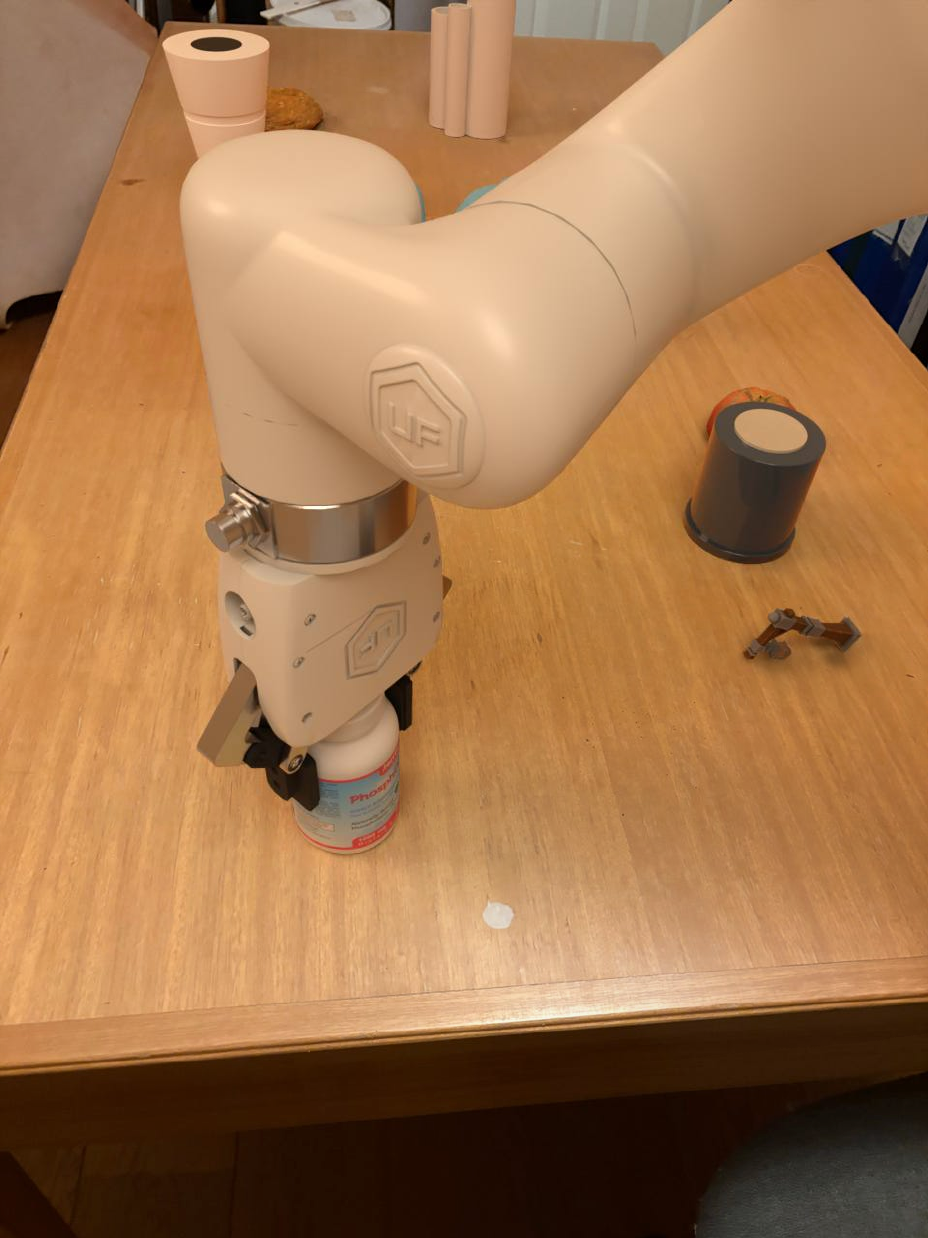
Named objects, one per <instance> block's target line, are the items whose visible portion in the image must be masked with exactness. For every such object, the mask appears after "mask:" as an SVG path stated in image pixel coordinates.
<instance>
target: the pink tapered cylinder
mask: <svg viewBox="0 0 928 1238" xmlns="http://www.w3.org/2000/svg"><path fill="white" fill-rule="evenodd" d="M162 48H163V53H164V55H165V58H166V61H167V65H168V69H169V71H170V74H171V79H172V81H173V85H174V87H175V90H176V94H177V97H178V100H179V104H180V106H181V108H182V110H183V115H184V119H185V122H186V125H187V128H188V131H189V135H190V139H191V141H192V144H193V148H194V151H195V154H196V157H197V160H198V159H199V158H201V157H202V156H203V155H204V154H205V153H206V152H208V151H209V150H211V149H212V148H214V147H215V146H217V145H220V144H222V143H224V142H227V141H229V140H233V139H236V138H239V137H243V136H247V135H252V134H256V133H262V132H265V116H266V111H265V105H266V100H267V87H268V83H269V82H268V80H269V79H268V78H269V63H270V62H269V60H270V42H269V41H268V40H267V39H266V38H264V37H263V36H260V35H258V34H256V33H252V32H247V31H242V30H235V29H223V28H221V29H219V28H217V29H216V28H213V29H212V28H210V29H196V30H189V31H184V32H179V33H176V34H173V35H170V36H169V37H167V38H166V39H164V41H163V42H162Z"/></svg>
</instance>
